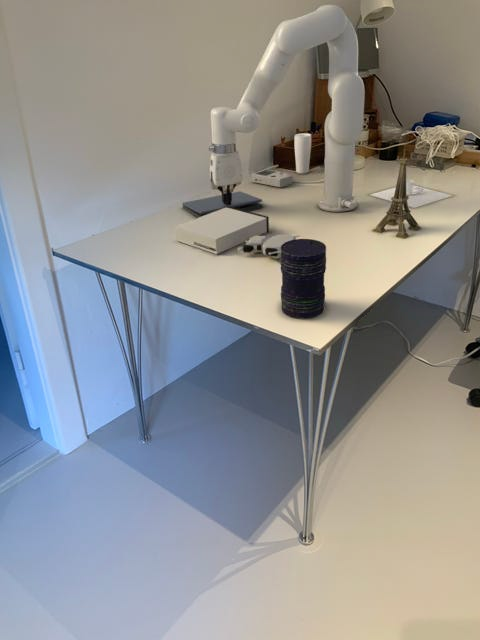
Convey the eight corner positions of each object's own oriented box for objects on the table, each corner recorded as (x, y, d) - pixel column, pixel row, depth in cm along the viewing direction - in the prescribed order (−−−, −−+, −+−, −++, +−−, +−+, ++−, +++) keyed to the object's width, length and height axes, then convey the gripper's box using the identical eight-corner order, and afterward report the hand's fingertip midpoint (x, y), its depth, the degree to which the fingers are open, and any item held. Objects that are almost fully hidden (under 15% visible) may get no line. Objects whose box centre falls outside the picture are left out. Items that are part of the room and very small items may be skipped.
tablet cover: (262, 201, 185) (261, 199, 185) (201, 214, 176) (200, 212, 176) (240, 193, 198) (240, 191, 198) (182, 205, 189) (182, 202, 189)
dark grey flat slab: (262, 207, 186) (262, 204, 186) (201, 220, 178) (201, 217, 177) (240, 196, 199) (240, 193, 198) (182, 208, 190) (182, 204, 189)
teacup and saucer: (426, 193, 192) (427, 181, 190) (411, 197, 188) (412, 186, 186) (406, 187, 198) (408, 176, 196) (391, 192, 194) (392, 181, 192)
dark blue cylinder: (307, 324, 116) (308, 260, 109) (272, 310, 122) (270, 249, 115) (333, 306, 123) (335, 244, 115) (298, 294, 129) (298, 235, 121)
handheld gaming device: (280, 188, 205) (280, 178, 203) (251, 182, 214) (250, 173, 212) (294, 183, 211) (294, 173, 209) (265, 178, 219) (265, 168, 218)
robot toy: (235, 260, 150) (284, 264, 143) (233, 244, 148) (283, 248, 141) (256, 244, 159) (303, 248, 152) (254, 229, 157) (302, 233, 150)
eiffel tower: (404, 238, 156) (414, 150, 143) (372, 231, 162) (378, 145, 150) (421, 228, 162) (432, 142, 150) (389, 221, 169) (397, 138, 156)
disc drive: (269, 232, 166) (268, 216, 163) (217, 255, 152) (216, 238, 149) (228, 220, 176) (227, 205, 174) (176, 241, 163) (174, 225, 160)
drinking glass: (311, 174, 221) (312, 136, 213) (294, 175, 221) (294, 137, 214) (309, 170, 227) (310, 132, 219) (293, 170, 227) (293, 133, 219)
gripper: (208, 153, 168) (212, 211, 177) (250, 147, 174) (251, 202, 183) (198, 149, 174) (202, 205, 183) (239, 143, 180) (241, 197, 189)
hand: (227, 203), depth 183 cm, fingers closed
